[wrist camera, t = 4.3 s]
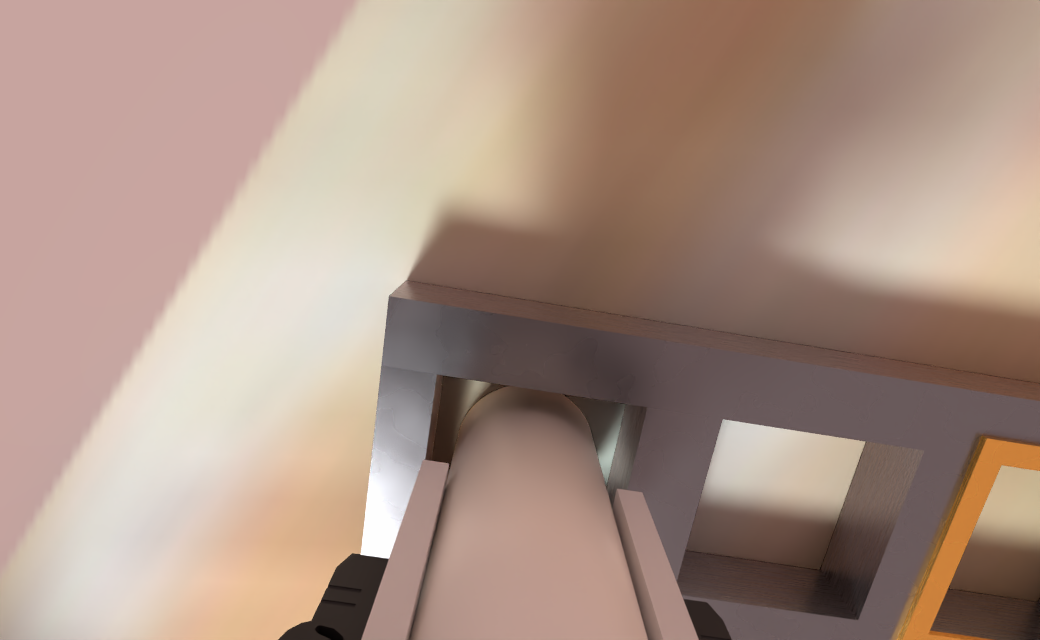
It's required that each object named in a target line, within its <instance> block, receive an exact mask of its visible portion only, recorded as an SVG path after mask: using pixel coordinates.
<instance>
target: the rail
mask: <svg viewBox="0 0 1040 640" xmlns="http://www.w3.org/2000/svg"><path fill="white" fill-rule="evenodd" d="M444 376H451V377H457V378H463V379H470V380H476V381H483V382H489V383H495V384H502V385H508V386H515V387H521V388H527V389H534V390H540V391H547V392H553V393H559V394H566V395H572V396H579V397H585V398H591V399H598V400H604V401H611V402H617V403H623V404H626V406H625V410H624V414H623V419H622V423H621V427H620V432H619V436H618V440H617V444H616V449H615V453H614V457H613V462H612V466H611V470H610V475H609V479H608V483H607V492H608V496H609V499H610V503H611V507H613V503H614V499H615V495H616V490H617V489H623V490H630V491H636V492H642V493H643V496H644V498H645V501H646V503H647V506H648V509H649V511H650V514H651V516H652V519H653V522H654V524H655V527H656V529H657V532H658V535H659V537H660V540H661V543H662V545H663V548H664V550H665V553H666V556H667V558H668V561H669V563H670V566H671V569H672V571H673V574H674V576H675V579H676V582H677V584H678V587H679V589H680V592H681V595H682V597H683V599H688V600H695V601H702V602H707V603H708V604H709V605H710V606H711V607H712V608H713V609H714V611H715V612H716V613H717V614H718V615H719V616H720V617H721V618H722V620H723V621H724V623H725V626H726V628H727V630H728V632H729V634H730V637H731V639H732V640H1040V599H1039V601H1038V602H1034V601H1027V600H1020V599H1013V598H1007V597H1000V596H993V595H986V594H979V593H972V592H965V591H959V590H952V589H948V587H949V585H950V583H951V581H952V578H953V576H954V574H955V571H956V569H957V567H958V564H959V562H960V560H961V557H962V555H963V553H964V550H965V548H966V546H967V544H968V541H969V539H970V537H971V534H972V532H973V530H974V527H975V525H976V523H977V520H978V518H979V516H980V514H981V511H982V509H983V507H984V504H985V502H986V500H987V497H988V495H989V493H990V490H991V488H992V486H993V483H994V481H995V479H996V477H997V474H998V472H999V470H1000V467H1001V465H1005V466H1011V467H1018V468H1024V469H1031V470H1037V471H1040V384H1039V383H1033V382H1027V381H1021V380H1014V379H1008V378H1002V377H996V376H990V375H984V374H978V373H971V372H965V371H959V370H953V369H947V368H941V367H935V366H928V365H922V364H916V363H910V362H904V361H898V360H892V359H885V358H879V357H873V356H867V355H861V354H855V353H849V352H842V351H836V350H830V349H824V348H818V347H812V346H806V345H799V344H793V343H787V342H781V341H775V340H769V339H763V338H757V337H750V336H744V335H738V334H732V333H726V332H720V331H714V330H707V329H701V328H695V327H689V326H683V325H677V324H671V323H664V322H658V321H652V320H646V319H640V318H634V317H628V316H621V315H615V314H609V313H603V312H597V311H591V310H585V309H578V308H572V307H566V306H560V305H554V304H548V303H542V302H535V301H529V300H523V299H517V298H511V297H505V296H499V295H493V294H486V293H480V292H474V291H468V290H462V289H456V288H450V287H443V286H437V285H431V284H425V283H419V282H413V281H407V280H406V281H405V282H404V283H403V284H402V285H401V286H400V287H398V288H397V289H396V290H395V291H394V292H393V293H392V294H391V295H390V296H389V301H388V310H387V320H386V329H385V338H384V347H383V357H382V366H381V375H380V384H379V393H378V403H377V412H376V421H375V430H374V440H373V449H372V458H371V467H370V477H369V486H368V495H367V504H366V514H365V523H364V532H363V541H362V551H361V555H367V556H375V557H382V558H389V557H390V554H391V552H392V549H393V546H394V543H395V540H396V537H397V534H398V531H399V528H400V525H401V522H402V519H403V517H404V514H405V511H406V508H407V505H408V502H409V499H410V496H411V493H412V490H413V487H414V485H415V482H416V479H417V476H418V473H419V470H420V467H421V464H422V461H423V460H429V461H432V456H433V449H434V442H435V435H436V428H437V420H438V413H439V406H440V399H441V392H442V384H443V377H444ZM722 419H726V420H732V421H739V422H745V423H751V424H758V425H764V426H771V427H777V428H783V429H790V430H796V431H803V432H809V433H815V434H822V435H828V436H835V437H841V438H847V439H854V440H860V441H866V444H865V447H864V450H863V453H862V455H861V458H860V461H859V464H858V466H857V469H856V472H855V475H854V478H853V480H852V483H851V486H850V489H849V492H848V494H847V497H846V500H845V503H844V505H843V508H842V511H841V514H840V517H839V519H838V522H837V525H836V528H835V531H834V533H833V536H832V539H831V542H830V544H829V547H828V550H827V553H826V556H825V558H824V561H823V564H822V567H821V570H815V569H808V568H801V567H794V566H787V565H780V564H773V563H767V562H760V561H753V560H746V559H739V558H732V557H725V556H719V555H712V554H705V553H698V552H691V551H685V550H686V546H687V543H688V539H689V536H690V532H691V529H692V525H693V522H694V518H695V515H696V511H697V507H698V504H699V500H700V497H701V493H702V490H703V486H704V483H705V479H706V476H707V472H708V469H709V465H710V461H711V458H712V454H713V451H714V447H715V444H716V440H717V437H718V433H719V430H720V426H721V423H722Z"/></svg>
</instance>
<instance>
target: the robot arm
mask: <svg viewBox="0 0 1040 640" xmlns="http://www.w3.org/2000/svg"><path fill="white" fill-rule="evenodd" d="M448 468H449V463H443V462H436V461H429V460H423V461H422V464H421V467H420V470H419V473H418V476H417V479H416V482H415V485H414V487H413V490H412V493H411V496H410V499H409V502H408V505H407V508H406V511H405V514H404V517H403V519H402V522H401V525H400V528H399V531H398V534H397V537H396V540H395V543H394V546H393V549H392V552H391V554H390V557H389V558H382V557H375V556H367V555H360V554H353V553H352V554H351V555H350V556H349V557H348V558H347V559H345V560H344V561H343V562H342V563H341V564H340V565H339V566H337V568H336V570H335V572H334V574H333V576H332V578H331V580H330V582H329V585H328V588H327V589H326V591H325V593H324V595H323V597H322V600H321V603H320V604H319V606H318V608H317V610H316V612H315V614H314V617H313V619H312V621H309V622H304V623H301V624H299V625H297V626H295V627H293V628H291V629H289V630H288V631H287V632H286V633H285V634H283V635H282V636H281V637H280V638H279V639H278V640H409V639H410V635H411V630H412V626H413V622H414V618H415V614H416V610H417V605H418V601H419V597H420V593H421V589H422V585H423V581H424V576H425V572H426V568H427V564H428V560H429V556H430V551H431V547H432V543H433V539H434V535H435V531H436V526H437V522H438V518H439V514H440V510H441V506H442V501H443V497H444V493H445V488H446V481H447V475H448ZM612 510H613V514H614V517H615V521H616V525H617V528H618V532H619V536H620V539H621V543H622V547H623V550H624V554H625V557H626V561H627V565H628V568H629V572H630V576H631V579H632V583H633V587H634V590H635V594H636V597H637V601H638V605H639V608H640V612H641V616H642V619H643V623H644V627H645V630H646V634H647V637H648V640H732V639H731V637H730V634H729V632H728V630H727V628H726V626H725V623H724V621H723V620H722V618H721V617H720V616H719V615H718V614H717V613H716V612H715V611H714V609H713V608H712V607H711V606H710V605H709V604H708V603H707V602H702V601H695V600H688V599H683V597H682V595H681V592H680V589H679V587H678V584H677V582H676V579H675V576H674V574H673V571H672V569H671V566H670V563H669V561H668V558H667V556H666V553H665V550H664V548H663V545H662V543H661V540H660V537H659V535H658V532H657V529H656V527H655V524H654V522H653V519H652V516H651V514H650V511H649V509H648V506H647V503H646V501H645V498H644V496H643V493H642V492H636V491H630V490H623V489H617V490H616V495H615V499H614V503H613V507H612Z"/></svg>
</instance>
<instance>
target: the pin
mask: <svg viewBox="0 0 1040 640" xmlns="http://www.w3.org/2000/svg"><path fill="white" fill-rule="evenodd" d="M409 640H648V637H647V634H646V630H645V627H644V623H643V619H642V616H641V612H640V608H639V605H638V601H637V597H636V594H635V590H634V587H633V583H632V579H631V576H630V572H629V568H628V565H627V561H626V557H625V554H624V550H623V547H622V543H621V539H620V536H619V532H618V528H617V525H616V521H615V517H614V514H613V510H612V507H611V503H610V499H609V496H608V492H607V488H606V485H605V481H604V477H603V474H602V470H601V467H600V463H599V459H598V456H597V452H596V448H595V445H594V441H593V437H592V434H591V430H590V427H589V424H588V422H587V420H586V418H585V417H584V415H583V413H582V412H581V411H580V409H579V408H578V407H577V406H576V405H575V404H574V403H573V402H572V401H571V400H570V399H568V398H567V397H565V396H564V395H562V394H559V393H553V392H547V391H540V390H534V389H527V388H521V387H515V386H507V387H504V388H500V389H498V390H495V391H493V392H491V393H489V394H488V395H486V396H484V397H483V398H482V399H480V400H479V401H478V402H477V403H476V404H475V405H474V406H473V407H472V408H471V409H470V410H469V412H468V413H467V414H466V416H465V418H464V420H463V422H462V424H461V426H460V429H459V433H458V437H457V441H456V445H455V449H454V453H453V458H452V462H451V466H450V470H449V474H448V478H447V482H446V488H445V493H444V497H443V501H442V506H441V510H440V514H439V518H438V522H437V526H436V531H435V535H434V539H433V543H432V547H431V551H430V556H429V560H428V564H427V568H426V572H425V576H424V581H423V585H422V589H421V593H420V597H419V601H418V605H417V610H416V614H415V618H414V622H413V626H412V630H411V635H410V639H409Z"/></svg>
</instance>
